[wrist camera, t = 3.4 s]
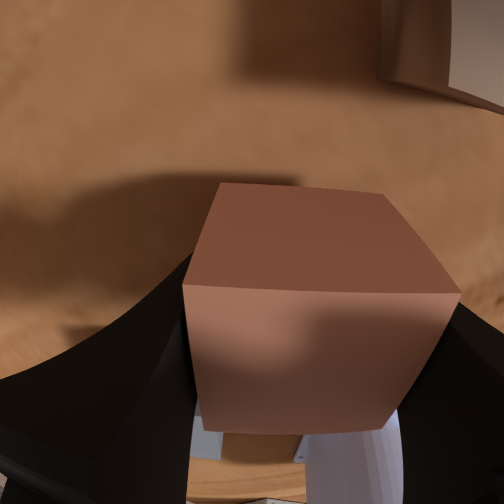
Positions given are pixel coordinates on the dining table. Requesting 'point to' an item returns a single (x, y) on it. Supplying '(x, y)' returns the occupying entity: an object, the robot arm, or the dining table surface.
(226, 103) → the dining table surface
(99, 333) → the robot arm
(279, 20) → the dining table surface
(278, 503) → the supplement box
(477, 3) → the walnut block
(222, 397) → the terracotta block
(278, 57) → the dining table surface
